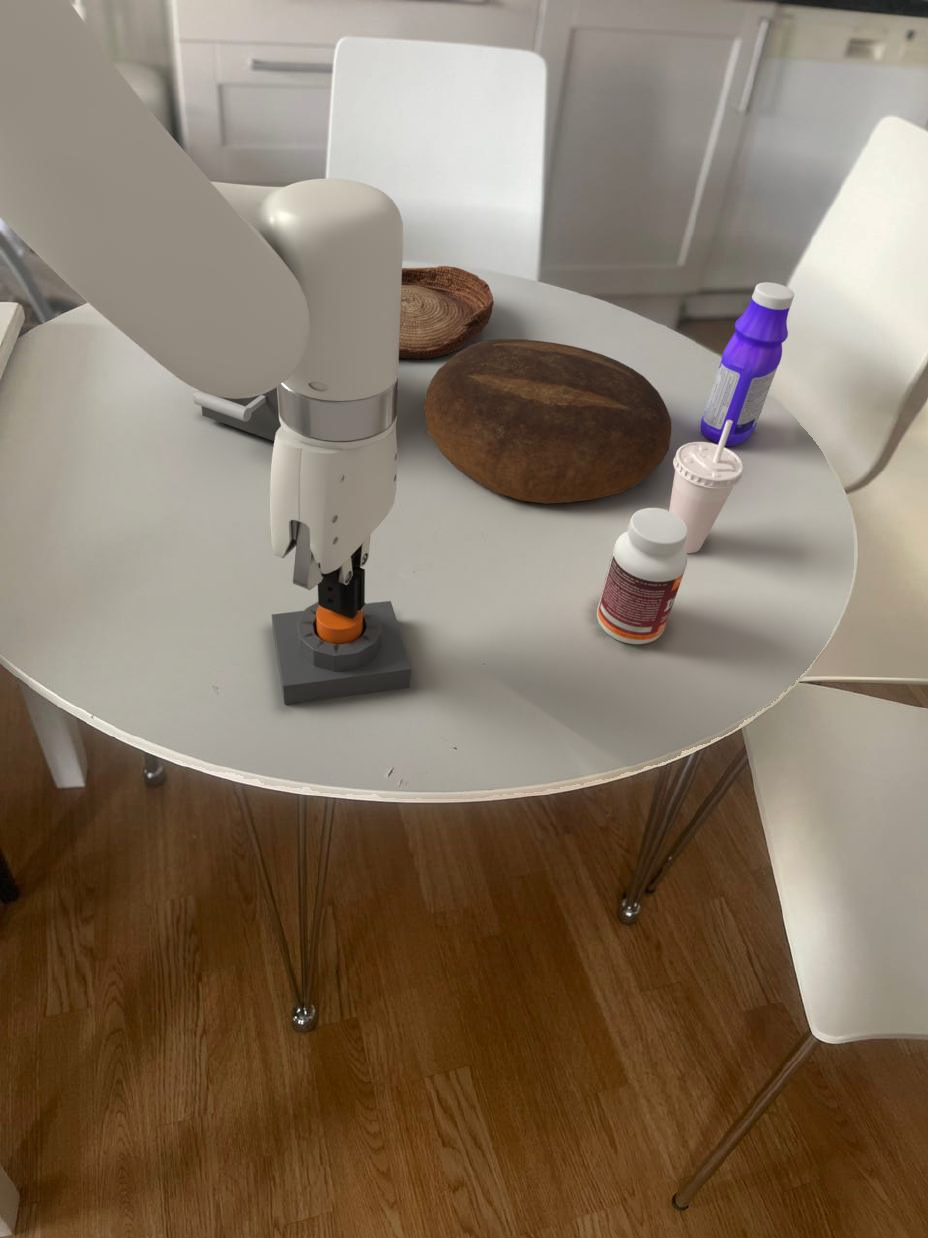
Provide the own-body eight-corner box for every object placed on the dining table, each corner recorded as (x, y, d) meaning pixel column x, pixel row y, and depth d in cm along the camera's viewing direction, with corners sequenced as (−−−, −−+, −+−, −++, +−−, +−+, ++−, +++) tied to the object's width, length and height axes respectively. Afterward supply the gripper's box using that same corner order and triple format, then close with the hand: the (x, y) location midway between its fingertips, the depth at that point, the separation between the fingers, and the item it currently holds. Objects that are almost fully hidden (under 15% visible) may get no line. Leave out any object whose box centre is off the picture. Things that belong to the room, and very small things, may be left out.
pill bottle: (668, 650, 77) (703, 553, 69) (597, 643, 77) (625, 545, 69) (659, 602, 82) (691, 505, 74) (593, 595, 81) (618, 498, 74)
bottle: (718, 413, 107) (765, 271, 95) (760, 432, 105) (814, 289, 93) (689, 435, 103) (734, 289, 91) (732, 455, 101) (784, 309, 89)
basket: (347, 372, 106) (347, 333, 103) (300, 299, 119) (298, 263, 116) (514, 351, 114) (519, 314, 111) (453, 285, 127) (456, 250, 123)
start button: (320, 647, 69) (319, 631, 67) (313, 616, 71) (313, 600, 70) (366, 642, 70) (366, 626, 68) (358, 610, 72) (358, 595, 71)
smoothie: (697, 571, 85) (741, 447, 76) (639, 542, 88) (675, 418, 78) (725, 540, 89) (771, 419, 79) (669, 513, 92) (707, 392, 82)
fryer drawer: (269, 467, 90) (264, 399, 84) (177, 433, 92) (166, 365, 87) (357, 392, 102) (358, 328, 96) (273, 364, 104) (269, 300, 99)
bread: (653, 537, 88) (676, 464, 82) (391, 480, 91) (394, 406, 85) (671, 399, 109) (690, 332, 103) (457, 356, 112) (463, 288, 106)
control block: (284, 705, 69) (281, 670, 66) (273, 633, 74) (270, 598, 72) (409, 687, 71) (412, 653, 69) (390, 619, 77) (391, 584, 74)
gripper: (346, 334, 62) (348, 538, 75) (216, 434, 52) (244, 650, 65) (442, 364, 60) (427, 568, 73) (327, 474, 50) (333, 688, 63)
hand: (341, 606), depth 69 cm, fingers closed
